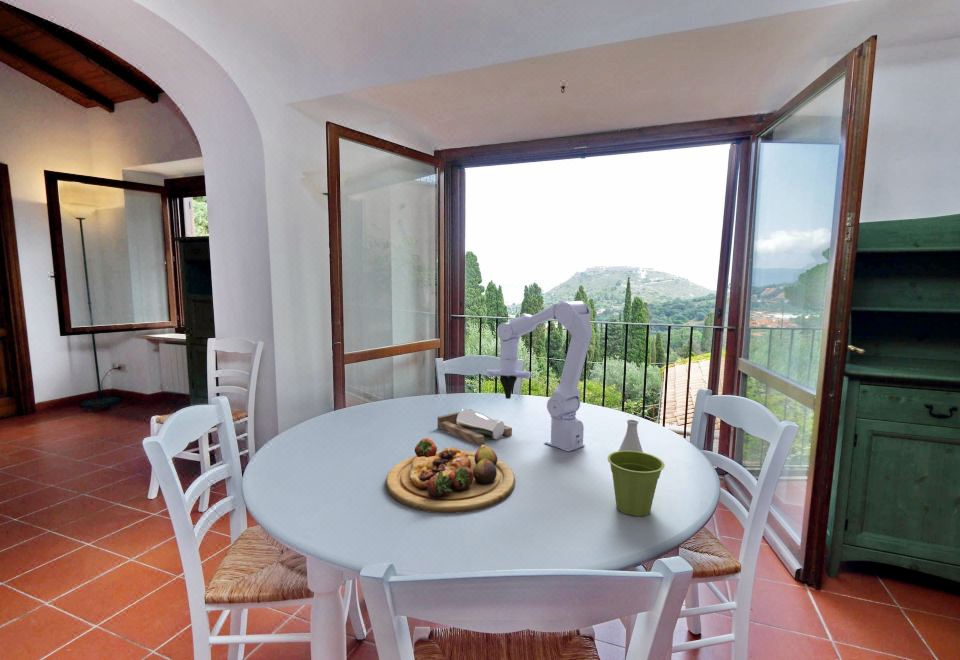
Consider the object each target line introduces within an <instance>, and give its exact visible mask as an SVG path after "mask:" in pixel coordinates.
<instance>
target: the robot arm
mask: <svg viewBox="0 0 960 660" xmlns="http://www.w3.org/2000/svg"><path fill="white" fill-rule="evenodd" d="M591 314H592V311H591V309H590V308H589V306H588V304H587V303H586V302H584V301H582V300H576V301H560V302H558V303H554V304H552V305H550V306H548V307H546V308H544V309H542V310H540V311H539V312H537V313H535V314H532V315H531V314H530V313H521V314H520V315H519V316H518V317H517V318H511V319H509V322H501V323H500V324H499V325H498V326H497V330H496V334H497V337H498V339H500V355H499V358H500V364H499V365H500V367H499V369H487V370H486V377H499V382H500V384H501V386H502V388H503V391H504V395H505V399H507V400H508V399H509V400H510V399H511V397H512V393H513V389H514V386H515V383H516V381H517V380H518V378H520V379H528V380H529V379H531V371H524V370H518V351H519V348H518V346H519V342H520V338H521V337H522V336H523V335H526V334H528V333H529V334H530V333H531V332H533V331H536V328H537V326H538V325H540V324H543V323H545V322H548V321H550V320H554V321H555V320H556V321H558V323H559V324H560V325H561V326H563V327H564V328H565V330H567V331H568V332H569V334H570V335H571V336H570V337H571V338H570V342H569V345H568V349H567V354H566V357H565V361H564V364H563V365H564V366H563V368H562V372H561V375H560V376H561V377H560V380H559V384H558V385H557V386H556V388H555V389H554V390H553V391H552V393H551V397H550V398H549V399H548V400H547V402H546V409H547V412H548V414H549V415H550V418H551V422H550V423H551V424H550V430H551V431H550V439H549V440H545V441H544V444H546V445H548V446H552V447H554V448H557V449H560V450H562V451H566V452H572V451H574V450H577V449H579V448H582V447H583V448H584V447H585V443H584V428H585V427H584V423H583V422H582V421H581V420H579V419H578V418H577V417H576V416H577V411H578V410H579V409H580V407H581V399H580V397H581V391H580V390H579V389H578V387H579V383H580V379H581V376H582V372H583V368H584V365H585V361H586V357H587V354H588V350H589V347H590V343H591V339H592V336H593V335H592V334H593V331H592V329H593V328H592V323H591Z"/></svg>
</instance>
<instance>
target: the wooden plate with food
mask: <svg viewBox="0 0 960 660" xmlns="http://www.w3.org/2000/svg"><path fill="white" fill-rule="evenodd" d="M414 453H415V455H413V456H410V457H408V458H405V459H404V460H402V461H400V462H399V463H397V464H396V465H394V466H393V467H392V468H391V470H389V472H388V474H387V476H386V480H385V487H386V490H387V491H388V493H389V495H390V496H391V497H392V498H393V499H394V500H395V501H396V502H398V503H399V502H400V504H401V505H403V504H404V505H403V506H405V507H408V508H411V509H414V508H415V510H417V509H419V510H418V511H422V510H424V511H423V512H427V511H430V512H429V513H435V512H439V513H438V514H457V513H456V512H461V513H467V512H468V511H469V512H473V510H475V511H479V509H480V510H483V509H486V508H487V509H488V508H489V507H492V506H495V505H498V503H501V502H502V501H504V500H505V499H507V497H509V496H510V495H511V493H512V492H513V490H514V488H515V484H516V479H515V478H516V477H515V473H514V472H513V470H512V469H511V468H510V467H509V465H507V464H506V463H505V462H504V461H502V460H500V459H498V455H497V453H496V451H494V450H493V448H492V447H490V446H488V445H487V444H482V445H480V446H479V448H478V449H477V450H476V451H472V450H471V451H470V450H461V449H459V448H457V447H454V446H452V447H451V448H449V447H447V448H445V449H443V450H438V447H437V445H436V444H435V441H434V440H433V439H431V438H428V437H426V438H422V439H421V440H420V441H419V442H418V443H416V446H415V447H414ZM469 512H468V513H469Z"/></svg>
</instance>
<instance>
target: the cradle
mask: <svg viewBox="0 0 960 660" xmlns="http://www.w3.org/2000/svg"><path fill="white" fill-rule="evenodd" d="M468 410H472V409H468ZM459 412H460V411H457V412H454V413H448V414H444V415H440V416H437V429H438V428H439V429H438V430H440V429H442V430H441V431H443V430H444V431H443V432H445V431H446V432H445V433H447V432H449V433H448V434H450V433H451V434H450V435H452V434H453V435H452V436H454V435H455V437H457V436H458V437H457V438H459V437H460V439H462V440H465V441H466V440H467V442H469V441H470V442H469V443H471V442H472V443H471V444H473V443H474V445H476V446H482V445H485V442H486V441H488V440H492V437H490V436H488V435H484V434H478V433H476V432H473V431H471V430H468V429H465V428H463V427H460V426H458V425H457V422H456V421H457V416H458V414H459ZM504 426H505V428H504V433H503V435H502V437H503V436H504V437H505V436H506V438H508V437H511V436H512V435H513V428H512V427H511V426H507V425H506V424H504ZM507 436H508V437H507ZM481 444H482V445H481Z"/></svg>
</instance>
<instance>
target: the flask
mask: <svg viewBox="0 0 960 660" xmlns="http://www.w3.org/2000/svg"><path fill="white" fill-rule="evenodd" d="M626 422H627V428H626V432H625V435H624V437H623V439H622V442H621V444H620V447H619V448H618V451H638V452H643V453H644V451H643V448H642V445H641V442H640V437H639V433H638V424H639V420H635V419H627V420H626Z"/></svg>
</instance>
